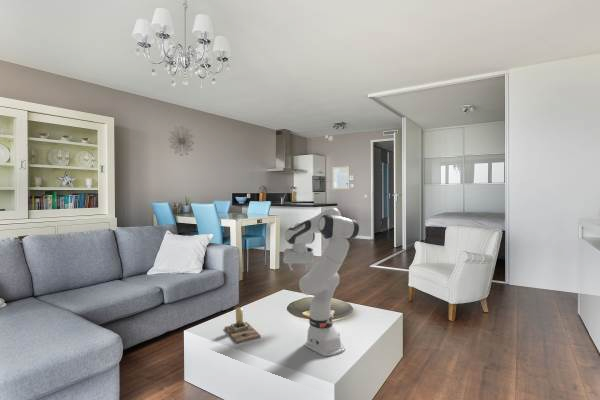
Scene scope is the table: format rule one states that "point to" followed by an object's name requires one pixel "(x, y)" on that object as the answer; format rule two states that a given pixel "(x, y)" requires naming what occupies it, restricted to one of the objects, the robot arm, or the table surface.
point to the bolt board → (242, 332)
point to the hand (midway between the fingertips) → (298, 270)
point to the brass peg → (239, 317)
